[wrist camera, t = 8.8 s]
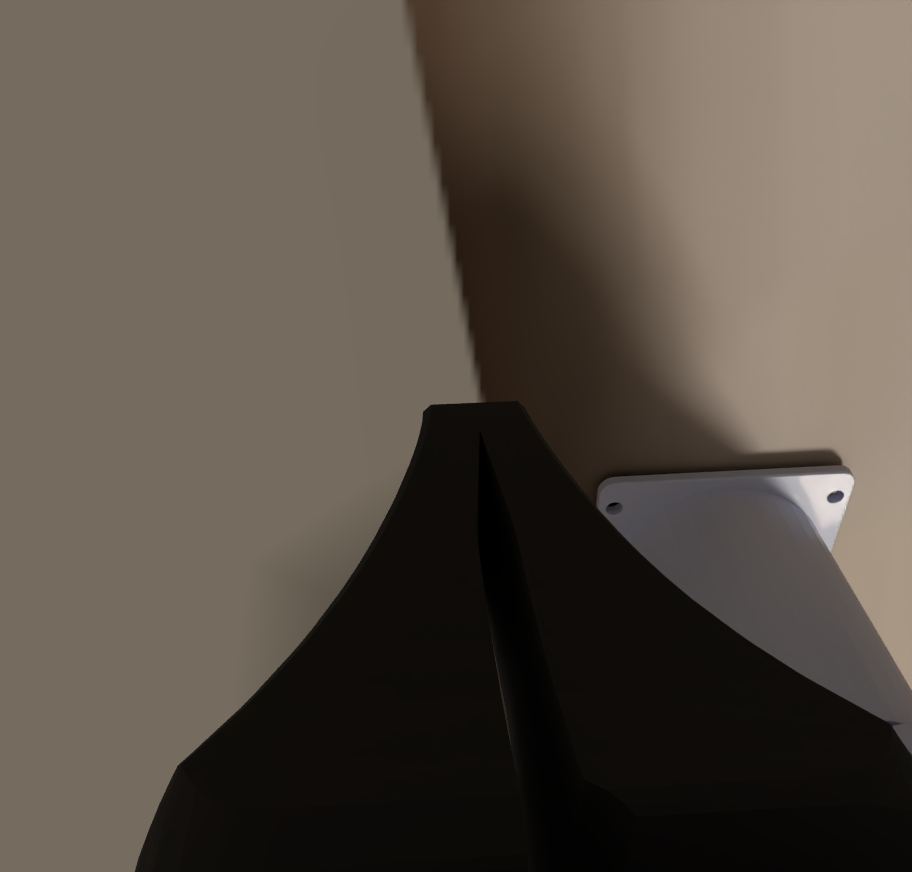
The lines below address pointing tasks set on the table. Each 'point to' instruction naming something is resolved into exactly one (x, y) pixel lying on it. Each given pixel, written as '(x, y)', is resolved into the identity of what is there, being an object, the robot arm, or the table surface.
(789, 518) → the robot arm
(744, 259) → the table surface
